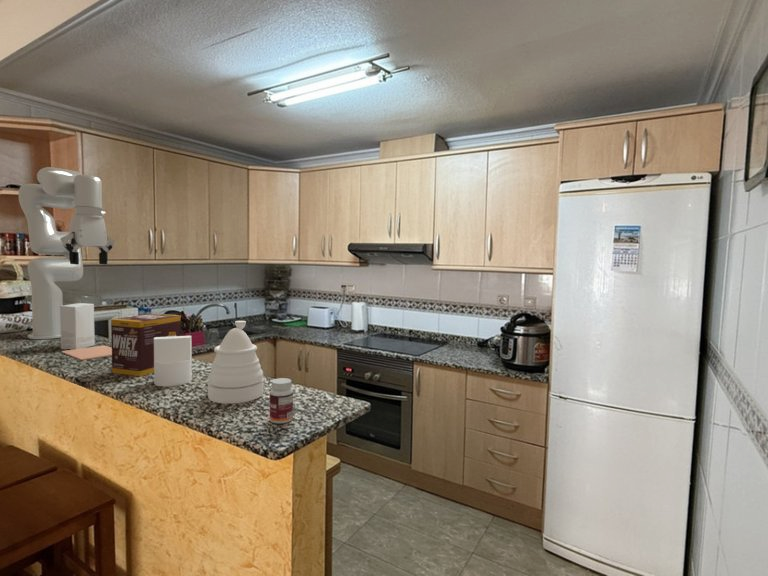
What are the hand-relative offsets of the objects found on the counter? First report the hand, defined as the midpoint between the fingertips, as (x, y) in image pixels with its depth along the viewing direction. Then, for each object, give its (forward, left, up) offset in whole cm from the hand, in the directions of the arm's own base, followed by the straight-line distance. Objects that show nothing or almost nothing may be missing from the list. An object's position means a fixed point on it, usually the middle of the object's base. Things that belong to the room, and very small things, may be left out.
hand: (89, 264), depth 140 cm
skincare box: (-11, 0, -30) cm, 32 cm away
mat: (+2, 0, -30) cm, 30 cm away
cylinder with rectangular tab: (+53, 0, -30) cm, 61 cm away
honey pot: (+75, +4, -30) cm, 81 cm away
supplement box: (+35, +2, -30) cm, 47 cm away
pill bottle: (+96, 0, -30) cm, 101 cm away
